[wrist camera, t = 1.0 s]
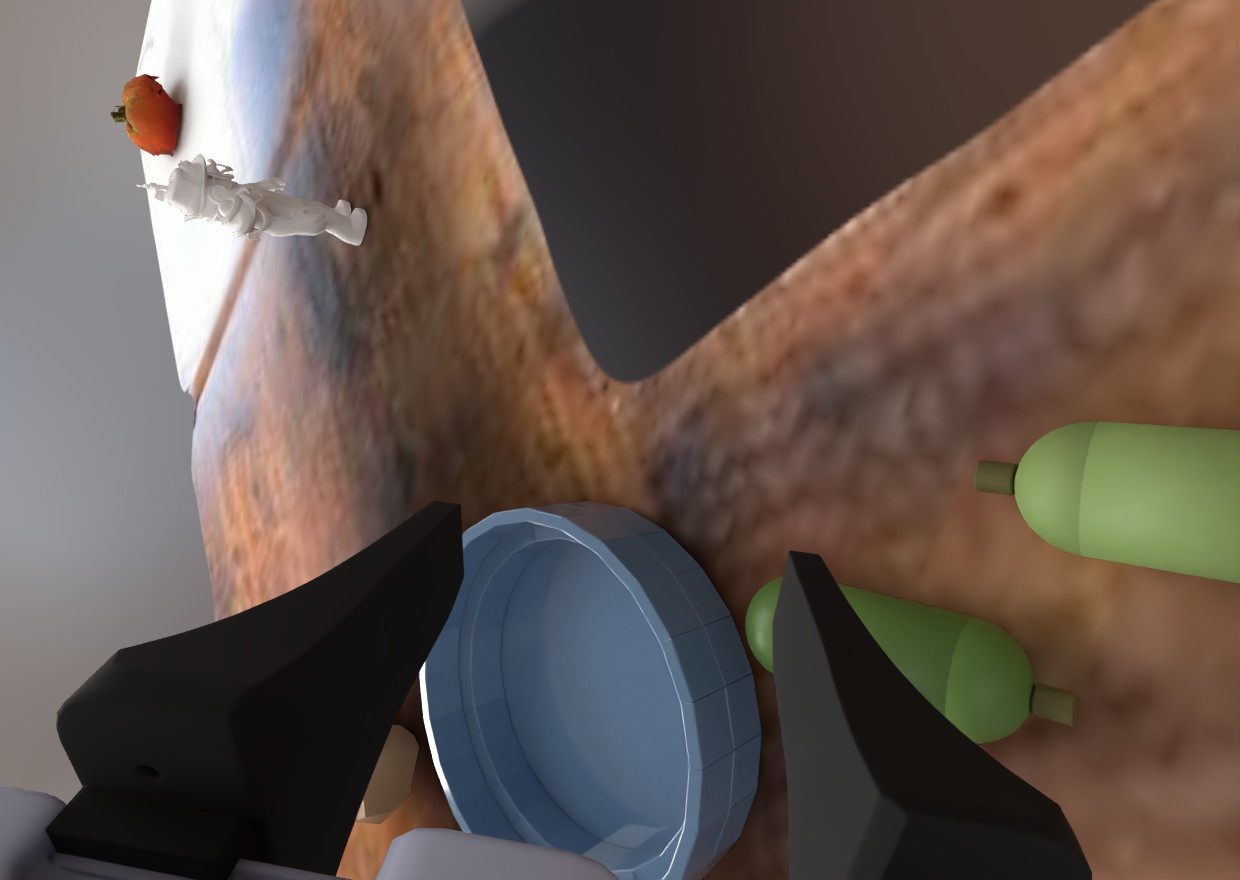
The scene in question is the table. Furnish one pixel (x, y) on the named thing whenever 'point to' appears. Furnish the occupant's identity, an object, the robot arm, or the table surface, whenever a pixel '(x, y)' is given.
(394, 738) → the squash
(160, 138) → the tomato
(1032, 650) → the table surface
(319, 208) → the hat wearing toy figure
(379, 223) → the table surface
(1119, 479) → the pale zucchini
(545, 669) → the bowl
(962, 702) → the green zucchini
